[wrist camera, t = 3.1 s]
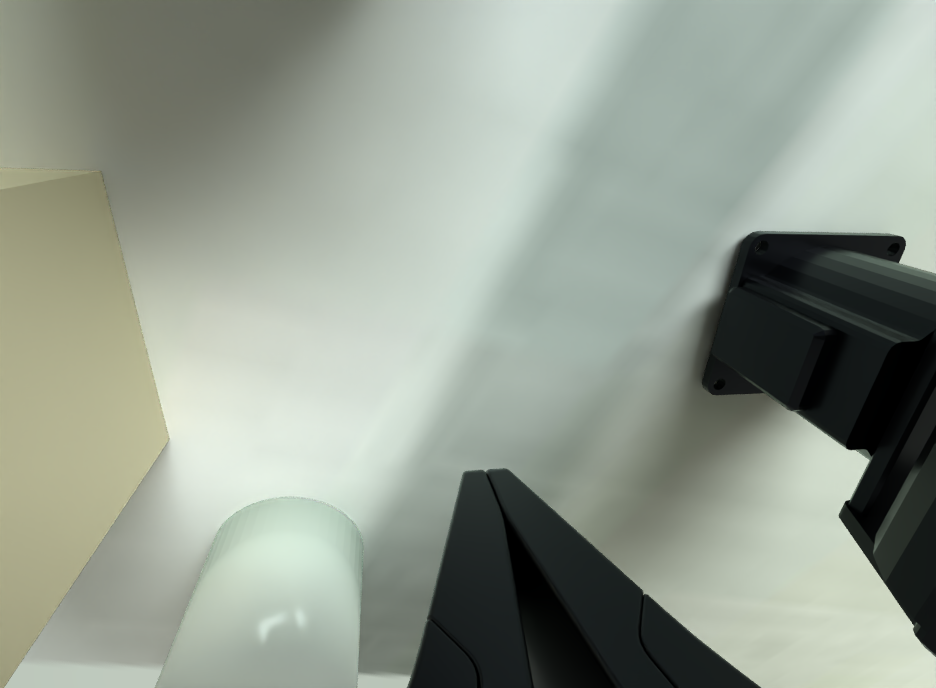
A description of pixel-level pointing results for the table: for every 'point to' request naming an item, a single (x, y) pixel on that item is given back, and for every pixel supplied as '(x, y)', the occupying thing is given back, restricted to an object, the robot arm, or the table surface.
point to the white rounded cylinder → (274, 602)
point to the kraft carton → (64, 393)
